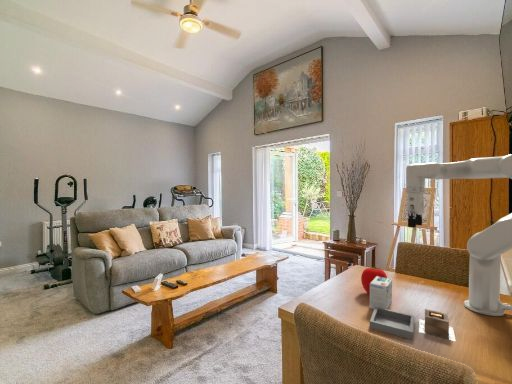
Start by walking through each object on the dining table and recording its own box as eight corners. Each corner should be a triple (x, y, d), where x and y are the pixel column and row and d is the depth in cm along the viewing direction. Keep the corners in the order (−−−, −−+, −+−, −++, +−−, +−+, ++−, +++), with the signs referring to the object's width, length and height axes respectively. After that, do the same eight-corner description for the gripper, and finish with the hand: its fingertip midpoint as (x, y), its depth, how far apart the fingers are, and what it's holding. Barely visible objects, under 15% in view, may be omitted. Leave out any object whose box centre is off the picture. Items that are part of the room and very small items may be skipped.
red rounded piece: (362, 298, 117) (363, 269, 117) (359, 289, 128) (359, 263, 128) (390, 300, 114) (390, 271, 114) (384, 291, 125) (385, 265, 125)
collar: (447, 327, 91) (447, 313, 91) (448, 337, 85) (448, 322, 85) (424, 322, 95) (424, 308, 94) (424, 331, 89) (424, 316, 89)
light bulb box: (375, 299, 116) (375, 275, 116) (392, 303, 112) (392, 278, 112) (368, 308, 108) (369, 282, 108) (386, 313, 104) (387, 286, 103)
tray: (414, 324, 95) (414, 315, 95) (412, 343, 84) (413, 332, 84) (375, 315, 102) (375, 306, 102) (369, 330, 91) (369, 321, 91)
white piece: (452, 329, 92) (453, 312, 91) (455, 344, 83) (456, 325, 83) (419, 321, 97) (419, 305, 97) (418, 334, 89) (419, 316, 88)
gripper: (418, 190, 115) (418, 229, 115) (429, 190, 127) (429, 225, 127) (400, 190, 120) (400, 227, 121) (412, 190, 132) (412, 223, 133)
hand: (415, 226), depth 124 cm, fingers open, 9 cm apart
